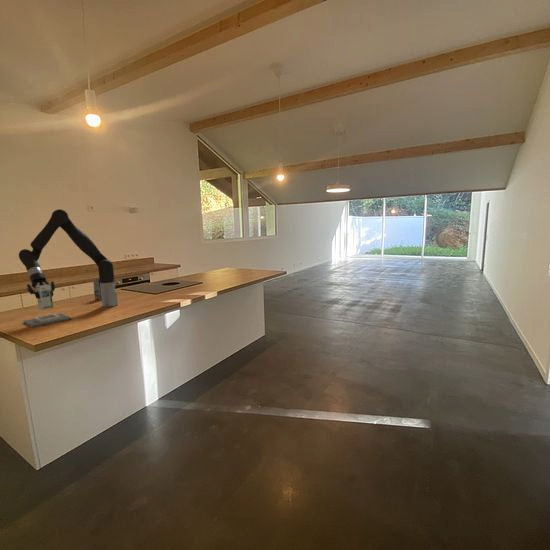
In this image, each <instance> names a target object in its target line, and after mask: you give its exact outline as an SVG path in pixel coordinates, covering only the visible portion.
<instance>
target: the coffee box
mask: <svg viewBox="0 0 550 550" xmlns="http://www.w3.org/2000/svg"><path fill="white" fill-rule="evenodd" d="M92 280H93V281H92V282H93V292H94V293H93V295H94V300H95V299H99V300H98V301H102V297H101V288H100V279H99V278H95V279H92Z"/></svg>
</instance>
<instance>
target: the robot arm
mask: <svg viewBox="0 0 550 550" xmlns="http://www.w3.org/2000/svg"><path fill="white" fill-rule="evenodd" d="M59 228H61V229H62V230H63V231H64V232H65V234H67V236H68V237H69V238H70V239H71V241H72V242H73V243H74V244H75V245H76V247H78V248H79V250H80V251H82V252H83V254H85V255H86V256H87V257H89V258H90V259H91V260H92V262H94V264H95V265H96V266H97V270H98V279H100V288H101V297H102V300H101V305H102V307H103V308H109V307H115V306H118V305H119V302H118V293H117V291H116V284H115V274H114V272H115V271H114V264H113V262H112V260H109V259H108V258H107V257H106V256H105V255H104V254H103V253H102V252H101V251H100V250H99V248H98V247H97V246H96V244H95V243H94V241H92V239H90V237H89V236H88V235H87V234H86V233H84V232H83V231H82V230H81V229H80V228H78V227H77V226H76V225H75V224H74V223H73V221H72V220H71V219H70V218H69V215H68V212H67V211H66V210H64V209H59V208H58V209H56V210H54V211H52V213H51V217H50V219H49V220H48V222H47V223H46V224H45V226H44V227H43V228H42V229H41V231H39V233H37V235H36V236H35V237H34V238H33V240H32V241H31V243H30V247H31V248H32V249H31V250H30V249H27V248H24V249H21V250H19V253H18V258H19V261H20V262H21V263H22V264H23V265H24V267H25V269H26V271H27V274H28V275H27V276H28V278H29V281H30V283H31V284H28V283H27V284H26V290H27V291H28V293H29V294H30V295H34V297H35V298H36V299H37V298H38V299H40V296H39V294H38V292H37V288H36V286H39V285H46V284H48V285H50V286H51V294H52V298H53V297H54V292H55V290H56V287H55V283H54V281H52V280H51V281H50V282H48V280H47V278H46V276H45V274H44V271H43V269H42V267H41V265H40V264H39V262H38V260H39V259H40V257H41V254H42V252H43V249H44V248H45V247H46V245H47V244H48V243H49V242H50V240H51V239H52V237H53V236H54V234H55V233H56V231H57V230H58V229H59ZM33 288H34V290H33Z"/></svg>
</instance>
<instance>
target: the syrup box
mask: <svg viewBox="0 0 550 550" xmlns="http://www.w3.org/2000/svg"><path fill="white" fill-rule="evenodd" d="M36 288H37V292H38V294H39V296H40V299H38V298H36V299H37V307H38V310H41V311H44V310H45V311H46V310H49V309H54V303H53V297H52V294H51V289H52V288H51V286H50V285H49V284H46V285H39V286H36Z"/></svg>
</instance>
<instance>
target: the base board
mask: <svg viewBox="0 0 550 550" xmlns="http://www.w3.org/2000/svg"><path fill="white" fill-rule="evenodd" d="M70 319H72V320H73V318H72V317H71V316H69V315H66V314H63V313H52V314H45V315H40V316H35V317H34V318H31V319H26V320H25V319H24V320H22V321H23V322H24V323H23V322H22V323H23V324H25V323H26V324H25V325H27V324H28V325H27V326H29V325H30V326H32V327H35V328H38V327H37V326H40V327H43V326H42V325H44V326H48V325H47V324H49V325H52V324H51V323H54V324H57V323H56V322H58V323H61V322H60V321H63V322H66V321H65V320H68V321H71V320H70ZM30 326H29V327H30ZM32 327H31V328H32Z"/></svg>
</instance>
